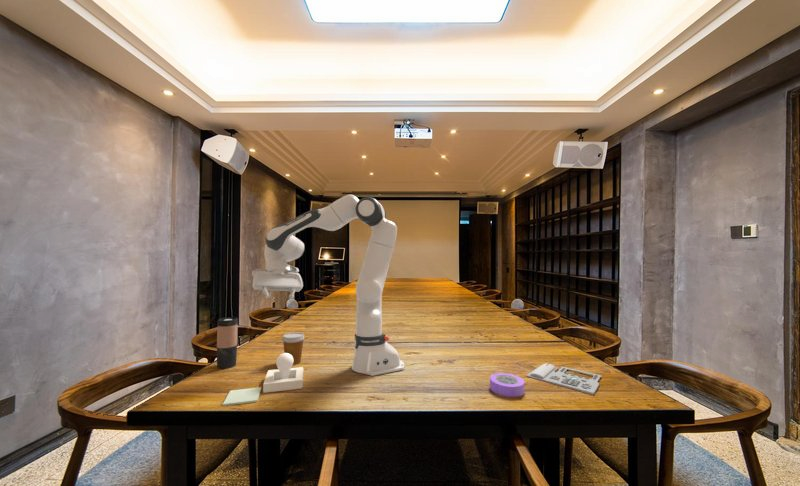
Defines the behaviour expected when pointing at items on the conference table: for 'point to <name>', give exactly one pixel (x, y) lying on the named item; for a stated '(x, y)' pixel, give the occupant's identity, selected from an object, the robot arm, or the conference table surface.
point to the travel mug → (227, 342)
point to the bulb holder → (283, 380)
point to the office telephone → (566, 378)
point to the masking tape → (507, 384)
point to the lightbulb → (284, 364)
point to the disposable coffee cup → (294, 345)
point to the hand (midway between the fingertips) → (280, 298)
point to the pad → (242, 396)
